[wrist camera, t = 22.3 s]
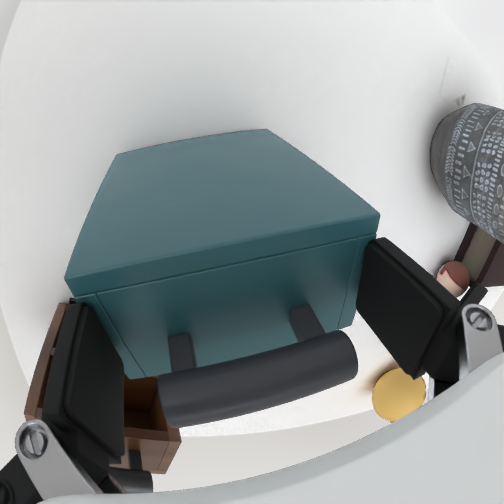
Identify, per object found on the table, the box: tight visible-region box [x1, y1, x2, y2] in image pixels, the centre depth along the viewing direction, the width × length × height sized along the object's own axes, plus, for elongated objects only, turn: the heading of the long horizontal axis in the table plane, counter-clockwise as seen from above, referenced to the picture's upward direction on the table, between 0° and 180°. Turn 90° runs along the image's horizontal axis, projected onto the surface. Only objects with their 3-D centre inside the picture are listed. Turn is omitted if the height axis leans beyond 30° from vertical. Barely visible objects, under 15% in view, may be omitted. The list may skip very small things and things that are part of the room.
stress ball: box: [372, 368, 426, 423], centre depth 40 cm, size 10×10×10 cm
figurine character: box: [437, 261, 488, 312], centre depth 32 cm, size 7×8×15 cm
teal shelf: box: [64, 129, 380, 428], centre depth 13 cm, size 15×10×6 cm
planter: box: [430, 103, 504, 244], centre depth 19 cm, size 12×12×13 cm
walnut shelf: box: [24, 303, 182, 494], centre depth 17 cm, size 15×10×6 cm
